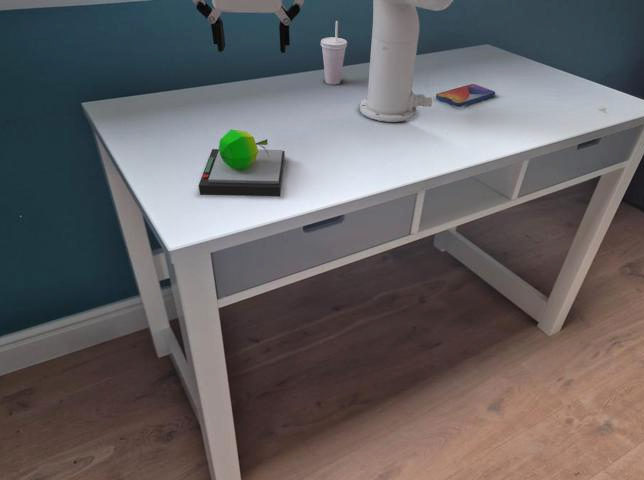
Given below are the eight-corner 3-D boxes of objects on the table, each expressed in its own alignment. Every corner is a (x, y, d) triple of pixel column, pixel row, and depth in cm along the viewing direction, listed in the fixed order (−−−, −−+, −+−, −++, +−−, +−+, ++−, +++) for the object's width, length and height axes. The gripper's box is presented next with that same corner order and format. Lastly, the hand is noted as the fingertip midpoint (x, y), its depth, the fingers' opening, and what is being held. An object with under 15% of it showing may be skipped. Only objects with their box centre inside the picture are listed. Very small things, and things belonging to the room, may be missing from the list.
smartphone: (496, 96, 123) (497, 92, 122) (457, 108, 115) (458, 104, 114) (472, 87, 127) (473, 83, 126) (433, 98, 119) (434, 94, 118)
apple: (217, 128, 78) (266, 115, 82) (206, 142, 83) (252, 129, 88) (236, 171, 78) (283, 155, 83) (224, 182, 84) (269, 167, 88)
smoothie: (342, 87, 122) (345, 25, 113) (317, 84, 123) (317, 23, 114) (347, 79, 127) (350, 19, 118) (323, 76, 128) (324, 16, 119)
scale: (284, 159, 92) (284, 147, 90) (280, 196, 82) (279, 183, 80) (213, 158, 91) (211, 145, 89) (199, 194, 81) (197, 181, 79)
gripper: (170, -82, 64) (192, 56, 75) (304, -78, 65) (307, 58, 76) (182, -88, 70) (201, 41, 81) (305, -84, 71) (307, 43, 82)
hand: (252, 49), depth 79 cm, fingers open, 9 cm apart
